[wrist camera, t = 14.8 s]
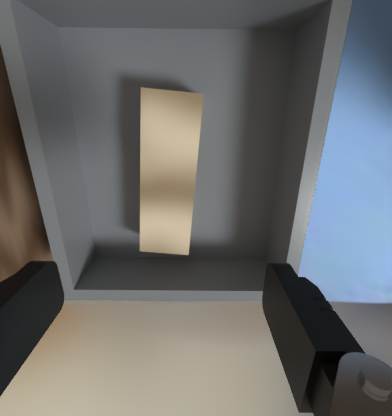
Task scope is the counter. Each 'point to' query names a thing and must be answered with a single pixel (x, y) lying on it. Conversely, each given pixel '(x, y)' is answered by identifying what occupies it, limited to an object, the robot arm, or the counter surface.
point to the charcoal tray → (208, 143)
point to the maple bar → (168, 168)
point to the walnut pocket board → (17, 192)
